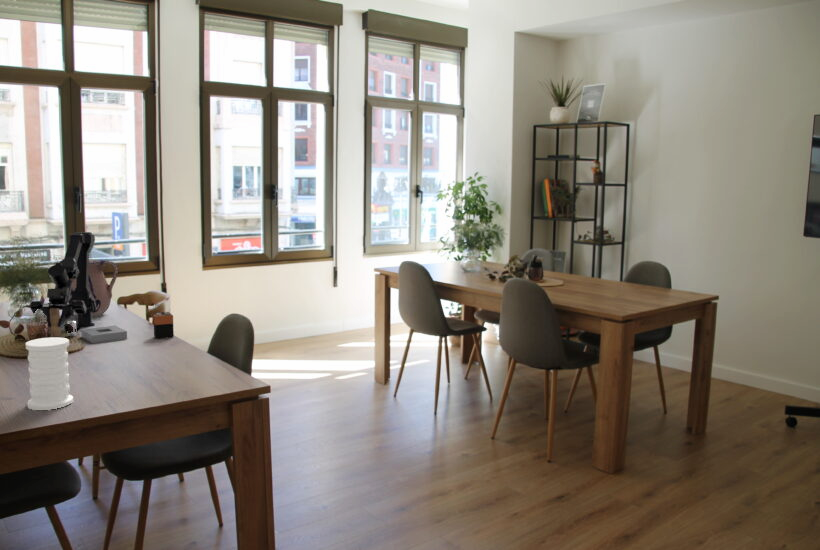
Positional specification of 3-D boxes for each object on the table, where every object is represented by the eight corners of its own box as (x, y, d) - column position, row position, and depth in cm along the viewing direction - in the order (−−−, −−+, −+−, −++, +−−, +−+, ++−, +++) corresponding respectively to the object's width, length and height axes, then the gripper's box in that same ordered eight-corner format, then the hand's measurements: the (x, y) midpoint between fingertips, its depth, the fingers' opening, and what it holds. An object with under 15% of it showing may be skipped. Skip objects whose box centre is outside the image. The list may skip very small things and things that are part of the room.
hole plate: (81, 337, 278) (81, 329, 278) (115, 332, 287) (115, 325, 287) (92, 343, 269) (92, 335, 268) (127, 338, 277) (126, 331, 277)
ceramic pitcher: (72, 312, 325) (69, 258, 322) (121, 310, 331) (119, 257, 328) (65, 320, 309) (63, 263, 305) (117, 318, 315) (115, 262, 311)
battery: (173, 337, 281) (173, 312, 280) (156, 339, 278) (155, 314, 276) (171, 335, 285) (170, 310, 284) (153, 336, 282) (153, 312, 280)
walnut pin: (50, 342, 265) (48, 308, 263) (59, 341, 267) (57, 307, 265) (52, 344, 262) (51, 309, 260) (62, 343, 264) (60, 309, 262)
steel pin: (66, 336, 280) (66, 321, 279) (75, 335, 282) (74, 320, 281) (69, 337, 277) (68, 322, 276) (77, 336, 279) (77, 321, 278)
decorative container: (31, 413, 192) (27, 348, 189) (24, 401, 201) (20, 340, 198) (77, 406, 198) (74, 343, 196) (69, 395, 208) (66, 335, 205)
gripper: (29, 279, 263) (20, 314, 254) (82, 279, 266) (75, 314, 257) (38, 296, 272) (29, 331, 263) (89, 296, 275) (82, 330, 266)
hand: (54, 326), depth 262 cm, fingers closed on walnut pin, 3 cm apart
